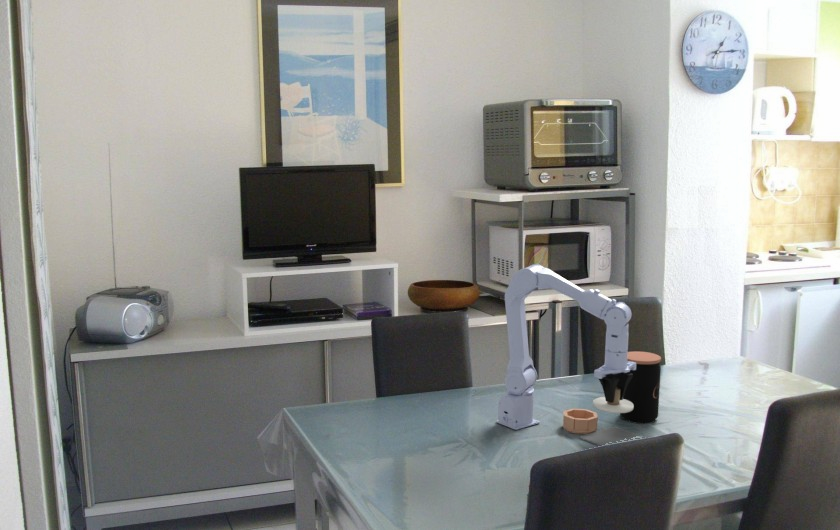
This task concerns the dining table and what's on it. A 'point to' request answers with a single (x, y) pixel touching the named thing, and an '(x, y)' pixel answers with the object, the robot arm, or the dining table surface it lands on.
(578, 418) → the bowl
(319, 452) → the dining table surface
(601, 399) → the lid
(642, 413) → the coffee jar
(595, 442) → the mat
